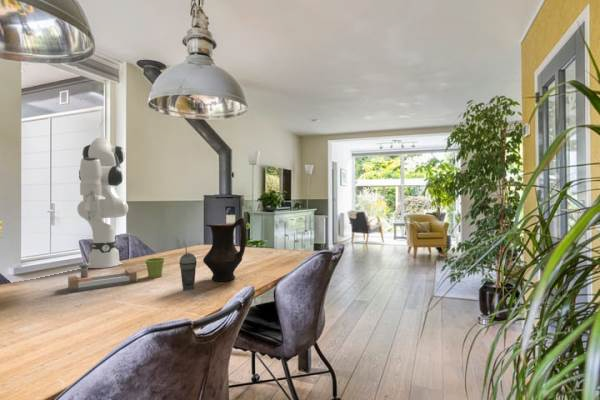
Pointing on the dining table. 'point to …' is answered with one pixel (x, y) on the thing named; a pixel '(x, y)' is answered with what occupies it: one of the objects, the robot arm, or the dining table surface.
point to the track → (103, 281)
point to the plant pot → (154, 267)
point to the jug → (225, 250)
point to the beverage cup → (188, 270)
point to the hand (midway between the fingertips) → (91, 220)
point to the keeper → (84, 273)
